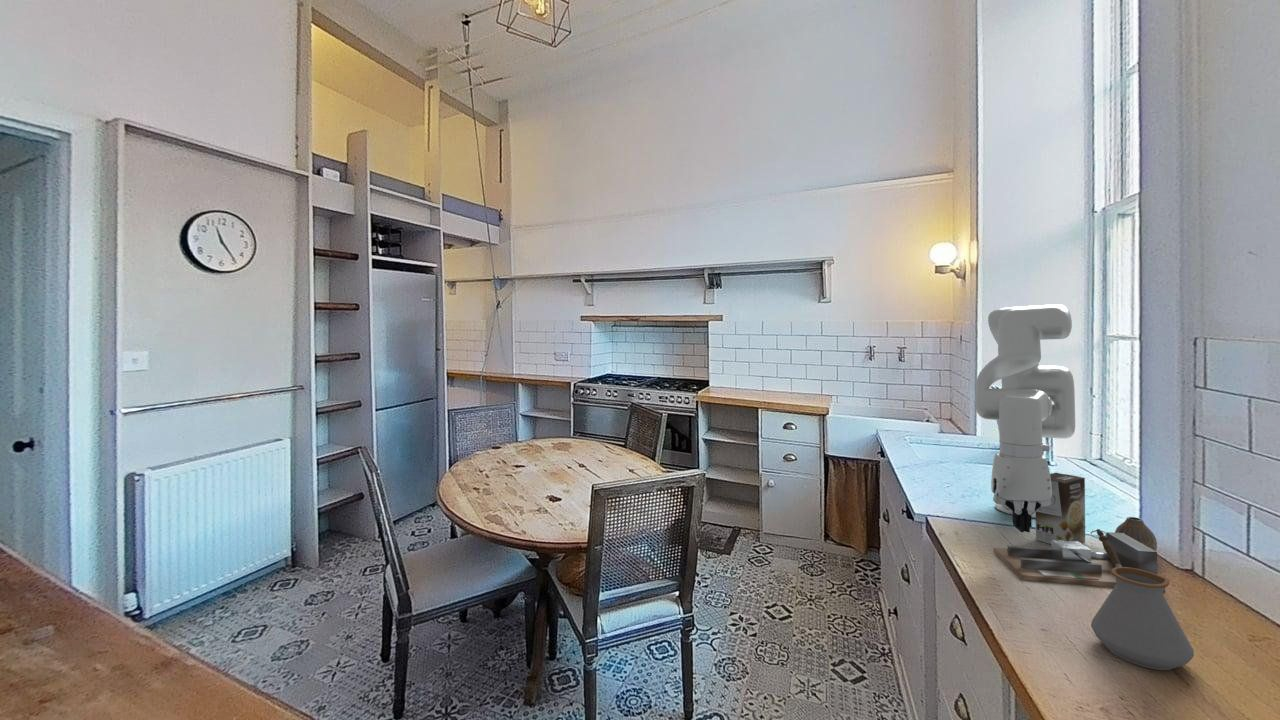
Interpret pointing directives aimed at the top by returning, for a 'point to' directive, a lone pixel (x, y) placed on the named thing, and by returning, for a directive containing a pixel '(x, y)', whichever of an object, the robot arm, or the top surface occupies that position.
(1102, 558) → the grey block with rod
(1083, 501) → the coffee box
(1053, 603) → the top surface
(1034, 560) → the bench
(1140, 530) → the vase
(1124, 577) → the coffee pot
